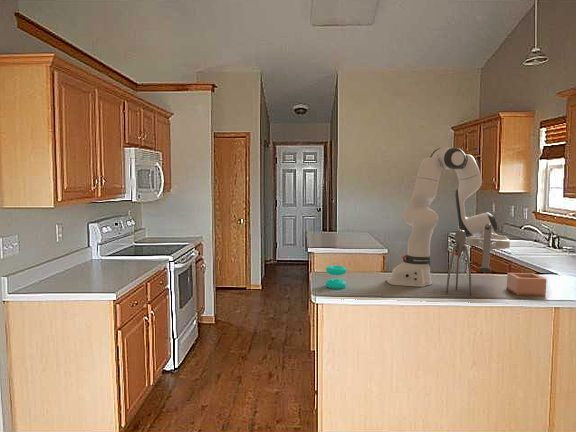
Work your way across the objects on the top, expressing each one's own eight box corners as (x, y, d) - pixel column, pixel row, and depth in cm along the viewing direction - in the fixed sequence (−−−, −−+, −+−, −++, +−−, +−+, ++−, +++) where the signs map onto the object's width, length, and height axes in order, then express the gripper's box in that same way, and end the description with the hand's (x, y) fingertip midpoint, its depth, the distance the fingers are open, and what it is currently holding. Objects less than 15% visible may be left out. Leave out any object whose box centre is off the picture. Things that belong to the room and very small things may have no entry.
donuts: (342, 264, 260) (349, 268, 251) (341, 284, 261) (349, 289, 252) (323, 265, 258) (330, 269, 248) (322, 285, 258) (329, 290, 249)
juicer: (471, 295, 241) (474, 231, 238) (446, 294, 244) (448, 230, 241) (468, 291, 251) (471, 228, 248) (444, 289, 253) (446, 227, 250)
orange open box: (516, 295, 243) (517, 278, 243) (506, 288, 256) (507, 272, 256) (545, 296, 243) (546, 279, 242) (533, 289, 256) (534, 273, 255)
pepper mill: (479, 271, 251) (482, 223, 249) (479, 269, 256) (483, 222, 254) (490, 272, 249) (493, 224, 247) (490, 270, 254) (494, 223, 252)
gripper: (466, 233, 267) (464, 236, 254) (510, 236, 259) (510, 239, 246) (465, 245, 267) (463, 248, 255) (509, 249, 259) (509, 252, 247)
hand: (486, 244), depth 250 cm, fingers closed on pepper mill, 3 cm apart
